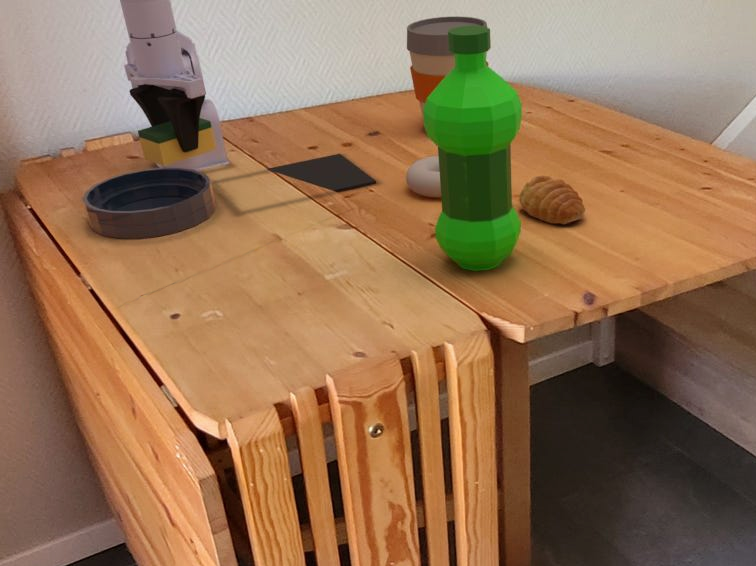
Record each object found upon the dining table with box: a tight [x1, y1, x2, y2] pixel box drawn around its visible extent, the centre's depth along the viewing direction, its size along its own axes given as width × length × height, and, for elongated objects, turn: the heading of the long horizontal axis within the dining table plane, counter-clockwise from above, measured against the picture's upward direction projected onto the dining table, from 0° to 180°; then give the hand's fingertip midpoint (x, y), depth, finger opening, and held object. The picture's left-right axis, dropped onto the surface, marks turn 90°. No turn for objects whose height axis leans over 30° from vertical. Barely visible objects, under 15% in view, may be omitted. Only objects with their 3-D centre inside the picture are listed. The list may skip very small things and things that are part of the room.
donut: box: [405, 155, 441, 199], centre depth 132 cm, size 10×4×10 cm
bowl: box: [81, 167, 217, 240], centre depth 127 cm, size 16×16×4 cm
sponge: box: [137, 118, 216, 166], centre depth 125 cm, size 8×5×4 cm, turn 137°
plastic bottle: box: [423, 26, 523, 272], centre depth 106 cm, size 10×10×25 cm
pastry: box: [518, 175, 586, 225], centre depth 123 cm, size 9×7×4 cm
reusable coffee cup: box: [406, 15, 489, 132], centre depth 149 cm, size 12×13×15 cm
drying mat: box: [266, 153, 377, 193], centre depth 137 cm, size 20×14×1 cm
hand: (179, 146), depth 126 cm, fingers closed on sponge, 4 cm apart
